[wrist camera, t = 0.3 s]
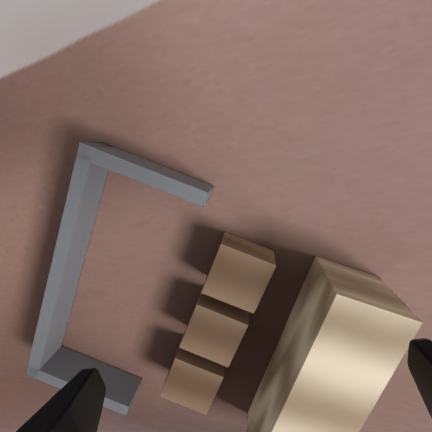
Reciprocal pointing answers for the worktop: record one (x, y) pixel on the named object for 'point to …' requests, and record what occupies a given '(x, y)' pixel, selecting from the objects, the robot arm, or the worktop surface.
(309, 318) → the block
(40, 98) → the worktop surface
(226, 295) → the walnut chip
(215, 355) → the block
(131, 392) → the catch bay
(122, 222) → the worktop surface
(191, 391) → the walnut chip
